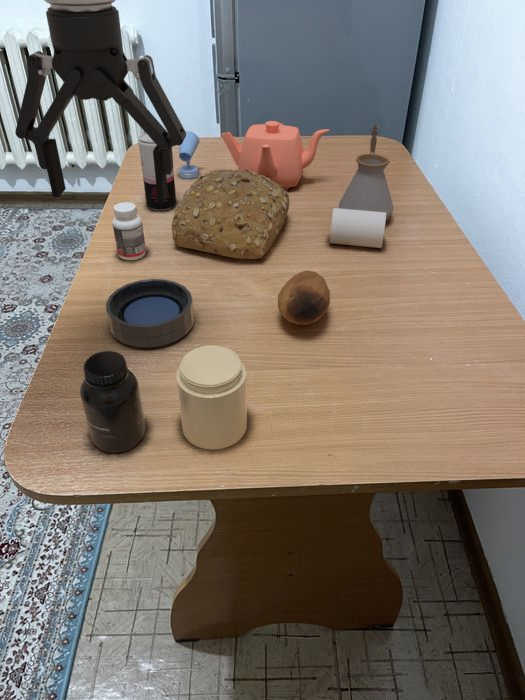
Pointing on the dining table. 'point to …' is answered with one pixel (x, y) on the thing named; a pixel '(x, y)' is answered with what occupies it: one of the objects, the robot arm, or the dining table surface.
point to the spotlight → (188, 155)
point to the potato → (304, 298)
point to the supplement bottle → (112, 402)
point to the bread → (231, 214)
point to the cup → (357, 227)
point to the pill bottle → (128, 232)
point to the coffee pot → (369, 183)
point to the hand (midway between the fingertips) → (111, 195)
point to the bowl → (153, 332)
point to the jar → (212, 397)
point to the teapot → (273, 152)
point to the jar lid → (151, 311)
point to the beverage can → (149, 177)
